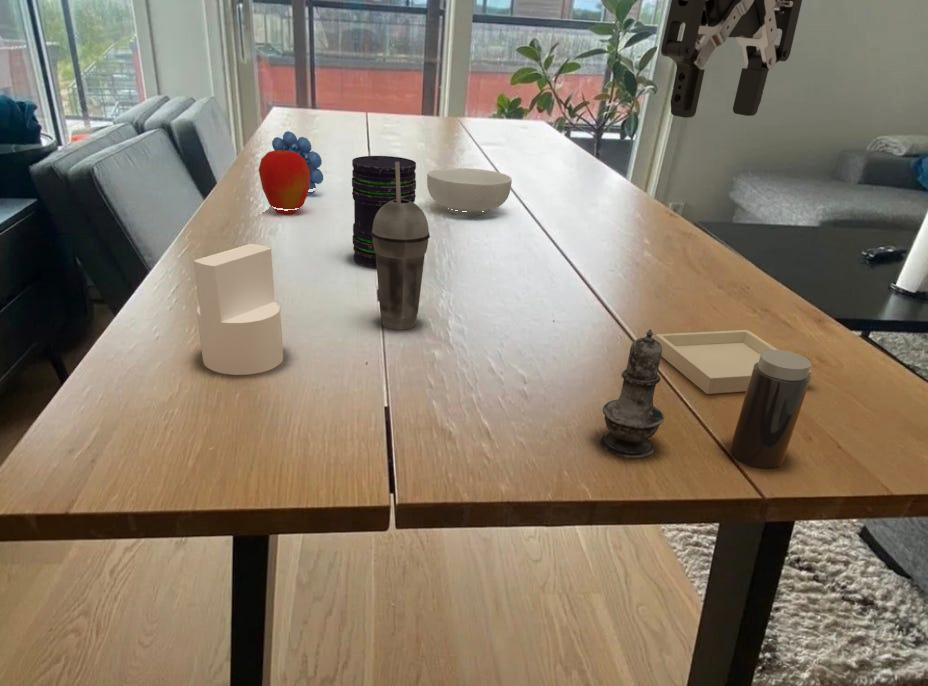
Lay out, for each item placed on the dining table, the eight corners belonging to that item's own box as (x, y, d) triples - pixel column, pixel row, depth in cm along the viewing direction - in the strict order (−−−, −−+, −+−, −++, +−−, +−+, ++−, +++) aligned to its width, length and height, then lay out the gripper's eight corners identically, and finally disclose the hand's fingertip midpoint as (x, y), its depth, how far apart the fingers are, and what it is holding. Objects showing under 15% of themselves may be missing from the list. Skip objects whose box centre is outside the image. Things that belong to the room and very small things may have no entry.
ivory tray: (743, 344, 101) (747, 329, 99) (806, 387, 90) (811, 371, 89) (652, 348, 97) (655, 334, 96) (706, 394, 87) (710, 378, 86)
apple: (320, 212, 148) (318, 145, 142) (289, 221, 141) (285, 151, 135) (283, 204, 152) (279, 139, 146) (252, 212, 145) (246, 144, 139)
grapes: (262, 195, 158) (258, 132, 152) (277, 188, 164) (273, 127, 157) (315, 201, 156) (313, 137, 149) (328, 194, 161) (326, 132, 155)
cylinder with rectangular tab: (242, 337, 93) (232, 238, 87) (299, 355, 90) (294, 253, 83) (185, 361, 87) (170, 255, 80) (245, 381, 83) (234, 272, 77)
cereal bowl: (525, 215, 155) (529, 178, 151) (464, 225, 145) (466, 186, 141) (470, 198, 165) (472, 163, 162) (409, 207, 156) (410, 170, 152)
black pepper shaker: (763, 441, 78) (792, 347, 72) (793, 466, 74) (827, 368, 68) (719, 444, 77) (746, 349, 71) (748, 470, 73) (778, 371, 67)
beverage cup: (435, 320, 102) (443, 160, 91) (411, 338, 96) (416, 169, 86) (387, 309, 104) (389, 152, 94) (360, 326, 99) (359, 161, 88)
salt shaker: (586, 433, 77) (606, 320, 71) (637, 427, 79) (661, 316, 72) (615, 463, 72) (638, 344, 66) (668, 456, 74) (696, 339, 68)
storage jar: (425, 265, 123) (428, 166, 115) (370, 272, 118) (370, 169, 110) (395, 248, 130) (397, 154, 122) (342, 254, 125) (340, 157, 117)
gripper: (747, -129, 54) (694, 124, 62) (859, -104, 61) (797, 120, 69) (666, -122, 59) (627, 111, 67) (778, -100, 66) (730, 108, 75)
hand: (714, 115), depth 68 cm, fingers open, 8 cm apart
